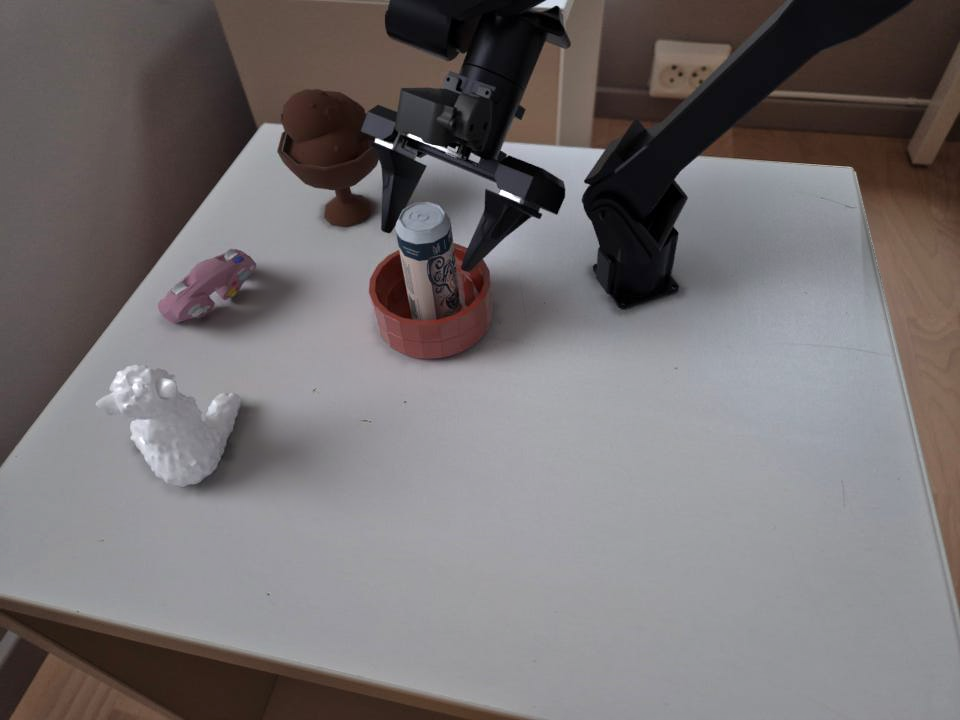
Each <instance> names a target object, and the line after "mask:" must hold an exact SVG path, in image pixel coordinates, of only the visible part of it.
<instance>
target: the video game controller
mask: <svg viewBox="0 0 960 720" xmlns="http://www.w3.org/2000/svg"><path fill="white" fill-rule="evenodd" d="M256 268H257V263H256V262H255V260H254V259H253V258H252V256H250V255H248V254H247V253H246V252H244V251H242V250H241V249H237V248H230V249H228V250H227V251H225V252H223V253H221V254H219V255H217V256H213V257H212V258H208V259H204V260H202V261H200V262H198V263H196V265H194V266H193V267H192V269H190V271H189V272H188V274H186V276H184V278H183V279H181V280H180V281H179V282H178V283H176V284H175V285H173V286H172V287H171V289H170V290H169V291H168V292H167V293H166V295H165V296H164V298H162V299H160V300H159V301H158V302H157V309H158V311H159V313H160V315H161V316H162V317H163V319H164V320H167V321H168V322H170V323H174V324H177V323H181V322H183V321H187V320H189V319H192V318H197V319H201V318H203V317H205V316H207V315H208V314H209V313H210V312H211V311H212V310H213V309H214V307H215V304H216V303H215V301H214V300H213V299H212V297H211V296H210V295H212V294H214V292H216V294H217V295H218V296H219V297H220V298H221V299H222V300H224V301H227V300H229V299H231V298H233V297H235V296H236V295H237V294H238V293H239V292H240V289H241V288H242V286H243V284H244V283H245V282H246V281H247V280H248V279H249V278H250V277H251V276H252V275H253V274H254V272H255V270H256Z"/></svg>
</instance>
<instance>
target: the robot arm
mask: <svg viewBox="0 0 960 720" xmlns="http://www.w3.org/2000/svg"><path fill="white" fill-rule="evenodd" d="M914 1H915V0H785V1H784V2H783V4H781V6H780V7H779V8H777V9H776V10H775V11H774V12H773V13H772V14H771V15H770V16H769V17H768V18H767V19H766V20H765V21H764V22H763V23H762V24H761V25H760V26H759V27H758V28H757V29H756V30H755V31H754V32H753V33H752V34H751V35H749V37H747V39H745V40H744V41H743V42H742V44H740V45H739V46H738V47H737V48H736V49H735V50H734V51H733V52H732V53H731V54H730V55H729V56H728V57H727V58H726V59H724V61H723V62H722V63H721V64H720V65H719V66H717V68H716V69H715V70H713V72H712V73H711V74H710V75H708V76H707V78H705V79H704V80H703V81H702V82H701V83H700V84H699V85H698V86H697V87H696V88H695V89H694V90H693V91H692V92H691V93H690V94H689V95H688V96H687V97H686V98H685V99H684V100H683V101H682V102H680V104H678V105H677V107H676V108H675V109H673V111H671V112H670V113H669V114H668V115H667V117H665V118H664V119H663V120H662V121H660V122H659V123H657V124H655V125H652V126H648V127H646V128H645V126H644V125H643V124H642V122H641V121H640V120H639V119H638V117H634V119H633V120H632V121H631V123H630V125H628V128H627V129H626V131H624V133H623V134H622V135H621V136H619V137H618V138H616V139H615V138H614V139H612V140H610V142H609V143H608V145H607V146H606V148H605V149H604V151H602V154H601V155H600V156H599V158H598V159H597V161H596V162H595V164H594V165H593V167H592V168H591V169H590V171H589V173H588V174H587V176H586V177H585V179H584V180H583V183H584V184H585V185H588V186H587V188H586V189H585V190H584V192H583V194H582V197H581V203H582V207H583V211H584V212H585V214H586V217H587V218H588V220H590V222H591V224H592V227H593V230H594V233H595V236H596V240H597V242H598V245H599V247H598V248H597V259H596V263H594V264H593V265H592V272H593V273H594V275H595V279H596V280H597V282H598V283H599V285H600V286H601V287H602V289H603V290H604V292H605V293H606V294H607V295H609V296H610V298H611V299H612V300H613V302H614V303H615V305H616V306H617V307H618V308H619V309H621V310H626V309H629V308H632V307H635V306H639V305H642V304H645V303H648V302H652V301H654V300H657V299H660V298H664V297H667V296H670V295H673V294H676V293H678V292H679V290H680V285H679V283H678V282H677V280H675V279H674V278H673V276H672V275H673V268H674V263H675V258H676V252H677V246H678V241H679V234H680V232H679V231H678V230H677V229H676V227H675V224H676V222H677V220H678V218H679V216H680V215H681V213H682V211H683V209H684V207H685V205H686V203H687V202H688V199H689V197H688V194H687V193H686V192H685V191H684V189H682V187H681V186H680V185H679V184H678V182H677V181H676V178H677V177H678V175H679V174H680V173H681V172H682V171H683V170H684V169H685V168H686V167H687V166H689V165H690V164H691V163H693V161H695V159H697V158H698V157H700V155H702V153H704V152H705V151H706V150H707V149H708V148H710V147H711V146H712V145H713V144H714V143H715V142H717V141H718V140H719V139H720V138H721V137H722V136H723V135H725V134H726V133H727V132H728V131H729V130H730V129H731V128H733V127H734V126H735V125H736V124H737V123H739V122H740V121H741V120H742V119H743V118H744V117H745V116H747V115H748V114H749V113H750V112H751V111H753V109H755V108H756V107H757V106H758V105H760V104H761V103H762V102H763V101H764V100H765V99H767V98H768V97H769V96H770V95H771V94H772V93H774V92H775V91H776V90H777V89H778V88H779V87H780V86H781V85H782V84H784V83H785V82H786V81H787V80H788V79H790V78H791V77H792V76H793V75H794V74H795V73H797V72H798V71H799V70H800V69H801V68H802V67H804V66H805V65H806V64H807V63H808V62H809V61H810V60H812V59H813V58H814V57H815V56H817V55H819V54H820V53H822V52H825V51H827V50H830V49H832V48H835V47H838V46H841V45H843V44H846V43H848V42H850V41H854V40H855V39H858V38H859V37H861V36H863V35H864V34H866V33H867V32H870V31H871V30H873V29H874V28H876V27H877V26H879V25H881V24H882V23H884V22H885V21H887V20H889V19H891V18H892V17H894V16H895V15H897V14H899V13H900V12H902V11H903V10H905V9H906V8H908V7H909V6H910V5H912V3H913V2H914ZM544 2H547V0H389V2H388V6H387V10H386V11H385V12H384V28H385V31H386V34H387V36H388V38H389V39H390V40H392V41H395V42H397V43H400V44H403V45H405V46H408V47H410V48H412V49H416V50H418V51H421V52H423V53H425V54H428V55H431V56H433V57H435V58H438V59H441V60H444V61H446V62H452V61H453V60H455V59H456V58H457V57H458V55H459V54H463V55H464V56H465V57H464V59H463V62H462V64H461V67H460V69H459V71H458V73H457V72H454V71H450V70H449V72H448V74H447V75H445V77H444V79H443V82H442V84H441V86H439V87H438V88H436V87H427V86H426V87H402V88H400V91H399V97H398V105H397V109H396V110H393V109H390V108H388V107H386V106H383V105H380V104H376V105H374V107H372V108H370V109H369V110H368V111H366V116H365V119H364V122H363V124H362V127H361V130H360V132H363V133H365V134H367V135H369V136H371V137H373V138H375V140H374V142H373V141H370V140H368V143H369V147H372V148H374V150H375V151H376V154H377V156H378V159H379V160H378V162H379V164H380V167H381V179H382V185H381V186H382V188H381V189H382V192H381V217H380V218H381V219H380V222H381V223H380V230H381V232H382V233H386V234H391V233H392V232H393V231H394V229H395V226H396V223H397V221H398V219H399V216H400V214H401V212H402V210H403V209H405V208H406V207H408V204H409V203H410V200H411V198H412V197H413V194H414V192H415V190H416V189H417V187H418V185H419V182H420V181H421V179H422V176H423V174H424V173H425V171H426V169H427V167H428V166H427V165H426V164H424V163H422V162H420V161H418V160H416V158H419V159H422V158H424V157H426V156H429V157H432V158H435V159H437V160H438V161H442V162H444V163H447V164H449V165H451V166H454V167H457V169H458V168H459V169H461V170H464V171H466V172H469V173H471V174H474V175H476V176H478V177H481V178H482V179H485V180H488V181H490V182H493V183H495V185H496V187H497V189H499V192H498V193H497V192H495V191H492V190H490V189H488V188H485V190H484V208H483V212H482V214H481V218H480V219H479V222H478V224H477V226H476V228H475V230H474V232H473V235H472V237H471V239H470V241H469V243H468V246H467V247H466V248H467V251H466V253H465V256H464V259H463V263H462V266H461V269H462V270H463V271H466V272H470V271H471V270H472V269H473V268H474V267H475V266H476V265H477V264H478V263H479V262H480V261H481V260H482V259H483V260H484V259H485V258H486V257H487V256H488V255H489V254H490V253H491V252H492V251H493V250H494V249H495V248H496V247H497V246H498V245H499V244H500V243H501V242H502V241H504V240H505V239H506V238H507V237H508V236H510V235H511V234H512V233H513V232H515V231H516V230H517V229H518V228H520V227H521V226H522V225H524V223H526V222H527V221H529V220H530V219H531V218H534V219H537V220H540V219H541V218H542V216H543V213H541V212H540V210H544V211H546V212H549V213H550V214H553V215H555V216H558V215H559V212H560V210H561V208H562V205H563V203H564V201H565V198H566V186H565V182H564V180H562V179H561V178H559V177H558V176H556V175H554V174H553V173H551V172H550V171H548V170H546V169H545V168H543V167H540V166H538V165H535V164H532V163H530V162H527V161H525V160H522V159H519V158H517V157H514V156H512V155H509V154H508V153H505V152H503V150H502V148H503V145H504V143H505V140H506V138H507V136H508V134H509V131H510V128H511V126H512V124H513V121H514V119H516V120H519V121H522V119H523V117H524V115H525V112H526V110H527V109H526V108H524V107H523V106H522V105H521V102H522V100H523V97H524V95H525V92H526V89H527V87H528V84H529V82H530V80H531V77H532V75H533V72H534V71H535V67H536V65H537V63H538V60H539V58H540V56H541V53H542V50H543V48H544V45H545V43H548V44H551V45H553V46H556V47H559V48H561V49H563V50H564V49H565V50H567V49H570V48H571V46H572V41H571V40H570V37H569V35H568V33H567V31H566V27H565V22H564V14H563V12H562V10H561V7H560V6H559V5H554V6H552V7H551V8H549V9H545V10H538V9H535V7H537V6H539V5H541V4H542V3H544ZM450 148H451V149H453V150H451V149H450ZM456 149H457V150H456ZM454 150H456V151H454ZM472 154H473V155H474V156H476V157H477V158H479V160H478V162H476V161H474V160H472V159H470V158H471V155H472Z"/></svg>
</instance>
